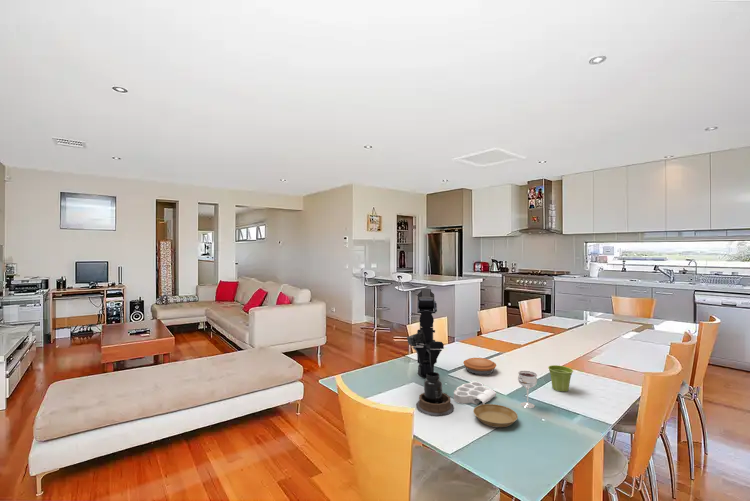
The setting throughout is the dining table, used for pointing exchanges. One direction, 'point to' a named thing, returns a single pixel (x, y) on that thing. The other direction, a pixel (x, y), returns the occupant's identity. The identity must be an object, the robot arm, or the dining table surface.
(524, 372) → the wineglass
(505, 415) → the plant saucer
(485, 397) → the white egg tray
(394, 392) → the dining table surface
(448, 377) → the dining table surface
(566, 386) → the plant pot
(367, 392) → the dining table surface
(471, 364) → the pie
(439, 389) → the supplement bottle
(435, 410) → the walnut collar
